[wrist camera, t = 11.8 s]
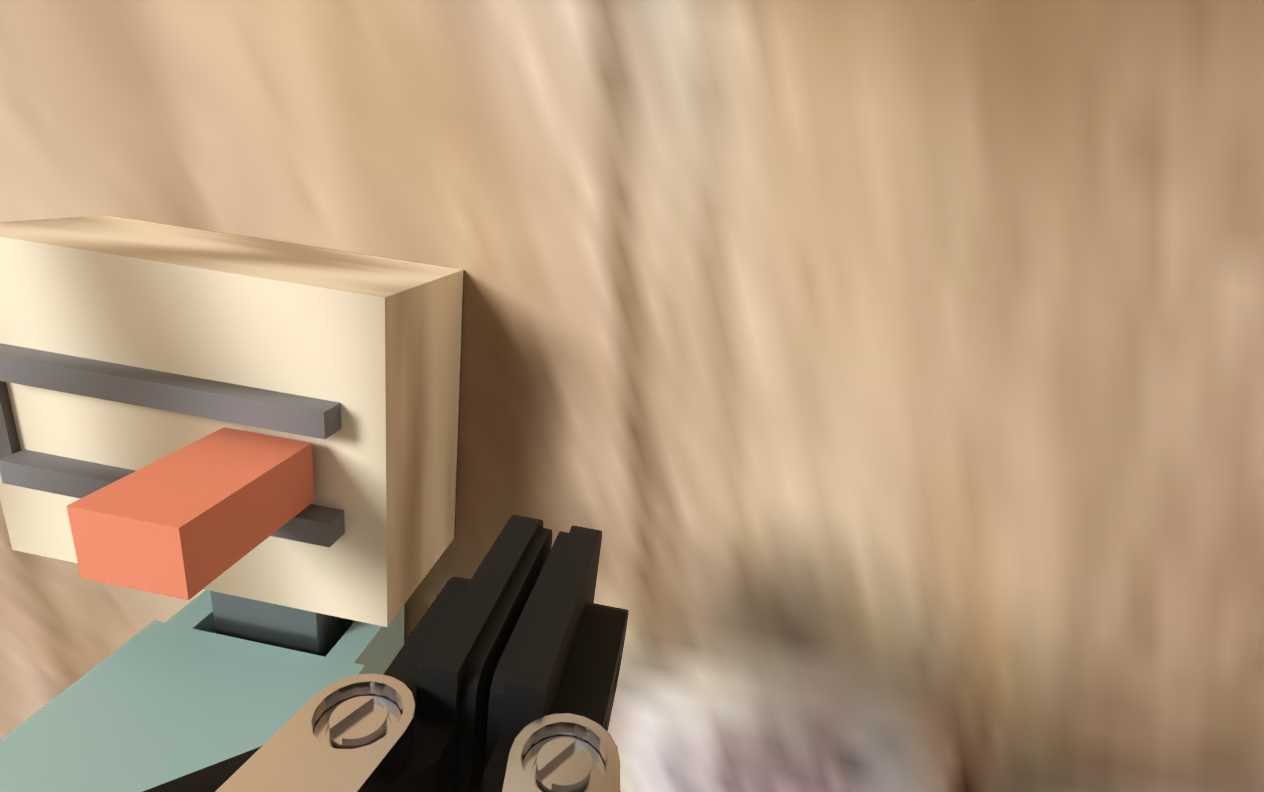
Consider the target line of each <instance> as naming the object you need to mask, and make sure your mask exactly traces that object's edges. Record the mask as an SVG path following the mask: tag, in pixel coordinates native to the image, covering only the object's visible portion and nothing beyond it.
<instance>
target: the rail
mask: <svg viewBox="0 0 1264 792" xmlns="http://www.w3.org/2000/svg"><path fill="white" fill-rule="evenodd" d="M210 592H211V600H212V608H213V617H214V625H215V633H216V634H221V635H225V636H230V637H235V638H239V639H244V640H249V641H253V642H258V643H263V644H267V645H272V646H277V647H282V648H286V649H291V650H296V651H300V652H305V653H310V654H314V655H319V656H324V657H325V656H326V655H327V654H328V653H329V652H330V650H331V649H332V648H333V647H334V646H335V645H336V643H337V642H338V641H339V640H340V639H341V637H342V636H343V635H344V634H345V633H346V631H347V630H348V629H349V628H350V627H351V625H352V624H353V623H354V622H355V620H350V619H345V618H340V617H335V616H330V615H326V614H321V613H316V612H311V611H306V610H301V609H297V608H292V607H287V606H282V605H277V604H272V603H268V602H263V601H258V600H253V599H248V598H243V597H239V596H234V595H229V594H224V593H219V592H214V591H210Z"/></svg>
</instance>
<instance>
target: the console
mask: <svg viewBox="0 0 1264 792" xmlns="http://www.w3.org/2000/svg"><path fill="white" fill-rule="evenodd" d="M462 298H463V269H456V268H449V267H443V266H436V265H430V264H423V263H417V262H410V261H403V260H397V259H390V258H384V257H377V256H370V255H364V254H357V253H351V252H344V251H338V250H331V249H324V248H318V247H311V246H305V245H298V244H291V243H285V242H278V241H272V240H265V239H259V238H252V237H245V236H239V235H232V234H226V233H219V232H212V231H206V230H199V229H193V228H186V227H180V226H173V225H166V224H160V223H153V222H147V221H140V220H134V219H127V218H120V217H114V216H92V217H76V218H60V219H44V220H29V221H13V222H0V500H1V504H2V508H3V512H4V516H5V520H6V525H7V529H8V533H9V537H10V541H11V545H12V550H16V551H21V552H26V553H31V554H36V555H40V556H45V557H50V558H55V559H60V560H65V561H69V562H74V563H78V562H77V557H76V552H75V547H74V542H73V537H72V532H71V527H70V522H69V517H68V512H67V507H66V506H67V505H69V504H71V503H73V502H75V501H77V500H79V499H81V498H83V497H85V496H87V495H89V494H91V493H93V492H95V491H97V490H99V489H101V488H103V487H105V486H107V485H109V484H111V483H113V482H115V481H117V480H119V479H121V478H123V477H125V476H127V475H129V474H131V473H133V472H135V471H137V470H139V469H141V468H143V467H145V466H147V465H149V464H151V463H153V462H155V461H157V460H159V459H161V458H163V457H165V456H167V455H169V454H171V453H173V452H175V451H177V450H179V449H181V448H183V447H185V446H187V445H189V444H191V443H193V442H195V441H197V440H199V439H201V438H203V437H205V436H207V435H209V434H211V433H213V432H215V431H217V430H219V429H221V428H223V427H227V428H232V429H238V430H243V431H249V432H254V433H260V434H265V435H271V436H276V437H282V438H287V439H293V440H298V441H304V442H309V443H312V459H313V479H314V499H315V501H314V502H313V503H311V504H310V505H309V506H307V507H306V508H305V509H304V510H302V511H301V512H300V513H299V514H297V515H296V516H295V517H294V518H292V519H291V520H290V521H288V522H287V523H286V524H285V525H283V526H282V527H281V528H280V529H278V530H277V531H276V532H274V533H273V534H272V535H271V536H269V537H268V538H267V539H266V540H264V541H263V542H262V543H260V544H259V545H258V546H257V547H255V548H254V549H253V550H252V551H250V552H249V553H248V554H247V555H245V556H244V557H243V558H241V559H240V560H239V561H238V562H236V563H235V564H234V565H233V566H231V567H230V568H229V569H227V570H226V571H225V572H224V573H222V574H221V575H220V576H219V577H217V578H216V579H215V580H213V581H212V582H211V583H210V584H208V585H207V586H206V587H205V588H203V589H205V590H210V591H214V592H219V593H224V594H229V595H234V596H239V597H243V598H248V599H253V600H258V601H263V602H268V603H272V604H277V605H282V606H287V607H292V608H297V609H301V610H306V611H311V612H316V613H321V614H326V615H330V616H335V617H340V618H345V619H350V620H355V621H359V622H364V623H369V624H374V625H379V626H384V627H388V625H389V624H390V623H391V622H392V620H393V619H394V618H395V616H396V615H397V614H398V612H399V611H400V610H401V608H402V607H403V606H404V604H405V603H406V602H407V600H408V599H409V598H410V596H411V595H412V594H413V592H414V591H415V590H416V588H417V587H418V586H419V584H420V583H421V582H422V580H423V579H424V578H425V576H426V575H427V574H428V572H429V571H430V570H431V568H432V567H433V566H434V564H435V563H436V562H437V561H438V559H439V558H440V557H441V555H442V554H443V553H444V551H445V550H446V549H447V547H448V546H449V545H450V543H451V542H452V541H453V539H454V529H455V500H456V471H457V442H458V413H459V384H460V356H461V327H462Z"/></svg>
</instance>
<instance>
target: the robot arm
mask: <svg viewBox="0 0 1264 792" xmlns="http://www.w3.org/2000/svg"><path fill="white" fill-rule="evenodd" d="M601 539H602V531H600V530H594V529H589V528H583V527H578V526H572V528H571V530H570V532H569V533H567V532H561V531H560V532H559V534H558V536H557V538H556V540H555V542H554V544H553V547H552V549H551V543H552V530H550V529H545V528H543V521H542V520H539V519H534V518H528V517H523V516H517V515H512V517H511V518H510V519H509V521H508V522H507V524H506V526H505V527H504V529H503V530H502V532H501V533H500V535H499V537H498V538H497V540H496V541H495V543H494V544H493V546H492V548H491V549H490V551H489V552H488V554H487V555H486V557H485V559H484V560H483V562H482V563H481V565H480V567H479V568H478V570H477V571H476V573H475V574H474V576H473V578H472V579H471V580H469V579H464V578H458V577H453V578H451V579H450V580H449V581H448V582H447V583H446V585H445V586H444V588H443V589H442V590H441V592H440V593H439V595H438V596H437V598H436V599H435V601H434V602H433V603H432V605H431V606H430V608H429V609H428V611H427V612H426V614H425V615H424V616H423V618H422V619H421V621H420V622H419V624H418V625H417V627H416V628H415V629H414V631H413V632H412V634H411V635H410V637H409V638H408V640H407V641H406V642H405V644H404V645H403V647H402V648H401V650H400V651H399V653H398V654H397V655H396V657H395V658H394V660H393V661H392V663H391V664H390V665H389V667H388V668H387V670H386V671H385V673H384V674H383V675H381V674H359V675H355V676H351V677H347V678H343V679H341V680H339V681H337V682H335V683H332V684H330V685H328V686H326V687H325V688H324V689H322V690H321V691H320V692H319V693H317V694H316V695H315V696H313V697H312V698H311V699H310V700H309V701H308V702H307V703H306V704H305V705H304V706H303V707H302V708H301V709H300V710H299V711H298V712H297V713H296V714H295V715H294V716H293V717H292V718H291V719H290V720H289V721H288V722H286V723H285V724H284V725H283V726H282V727H281V728H280V729H279V730H278V731H277V732H276V733H275V734H274V735H273V736H272V737H271V738H270V739H269V740H268V741H267V742H266V743H265V744H264V745H263V746H261V747H258V748H255V749H253V750H250V751H247V752H245V753H242V754H240V755H237V756H234V757H232V758H229V759H226V760H224V761H221V762H219V763H216V764H213V765H211V766H208V767H206V768H203V769H200V770H198V771H195V772H192V773H190V774H187V775H185V776H182V777H179V778H177V779H174V780H172V781H169V782H166V783H164V784H161V785H158V786H156V787H153V788H151V789H148V790H145V791H143V792H621V791H620V760H619V755H618V749H617V746H616V744H615V742H614V741H613V739H612V737H611V735H610V734H609V733H608V732H607V731H608V726H609V721H610V716H611V711H612V706H613V702H614V697H615V692H616V687H617V681H618V676H619V670H620V664H621V658H622V652H623V646H624V640H625V633H626V626H627V619H628V610H625V609H620V608H615V607H610V606H604V605H599V604H594V603H593V602H594V594H595V586H596V578H597V571H598V563H599V555H600V547H601Z"/></svg>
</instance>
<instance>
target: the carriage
mask: <svg viewBox="0 0 1264 792" xmlns="http://www.w3.org/2000/svg"><path fill="white" fill-rule="evenodd" d="M403 645H404V606H403V607H402V608H401V610H400V611H399V612H398V614H397V615H396V616H395V618H394V619H393V620H392V622H391V623H390V624H389V625H388V627H384V626H379V625H374V624H369V623H364V622H359V621H355V622H354V623H353V624H352V625H351V627H350V628H349V629H348V630H347V631H346V633H345V634H344V635H343V636H342V637H341V639H340V640H339V641H338V642H337V643H336V645H335V646H334V647H333V648H332V649H331V650H330V652H329V653H328V654H327V655H326V656H325V657H324V656H319V655H314V654H310V653H305V652H300V651H296V650H291V649H286V648H282V647H277V646H272V645H267V644H263V643H258V642H253V641H249V640H244V639H239V638H235V637H230V636H225V635H221V634H216V633H215V625H214V617H213V608H212V600H211V592H210V590H205V591H204V592H203V593H202V594H200V595H199V596H198V597H197V598H195V599H194V600H193V601H191V602H190V603H189V604H188V605H186V606H185V607H184V608H183V609H181V610H180V611H179V612H178V613H176V614H175V615H174V616H173V617H171V618H170V619H169V620H168V621H166V622H165V623H164V622H160V621H153V622H152V623H151V624H149V625H148V626H147V627H146V628H144V629H143V630H142V631H140V632H139V633H138V634H137V635H135V636H134V637H133V638H131V639H130V640H129V641H128V642H126V643H125V644H124V645H122V646H121V647H120V648H119V649H117V650H116V651H115V652H113V653H112V654H111V655H110V656H108V657H107V658H106V659H104V660H103V661H102V662H101V663H99V664H98V665H97V666H95V667H94V668H93V669H91V670H90V671H89V672H88V673H86V674H85V675H84V676H82V677H81V678H80V679H79V680H77V681H76V682H75V683H73V684H72V685H71V686H70V687H68V688H67V689H66V690H64V691H63V692H62V693H61V694H59V695H58V696H57V697H55V698H54V699H53V700H52V701H50V702H49V703H48V704H46V705H45V706H44V707H43V708H41V709H40V710H39V711H37V712H36V713H35V714H33V715H32V716H31V717H30V718H28V719H27V720H26V721H24V722H23V723H22V724H21V725H19V726H18V727H17V728H15V729H14V730H13V731H12V732H10V733H9V734H8V735H6V736H5V737H4V738H3V739H1V740H0V792H143V791H145V790H148V789H151V788H153V787H156V786H158V785H161V784H164V783H166V782H169V781H172V780H174V779H177V778H179V777H182V776H185V775H187V774H190V773H192V772H195V771H198V770H200V769H203V768H206V767H208V766H211V765H213V764H216V763H219V762H221V761H224V760H226V759H229V758H232V757H234V756H237V755H240V754H242V753H245V752H247V751H250V750H253V749H255V748H258V747H261V746H263V745H264V744H265V743H266V742H267V741H268V740H269V739H270V738H271V737H272V736H273V735H274V734H275V733H276V732H277V731H278V730H279V729H280V728H281V727H282V726H283V725H284V724H285V723H286V722H288V721H289V720H290V719H291V718H292V717H293V716H294V715H295V714H296V713H297V712H298V711H299V710H300V709H301V708H302V707H303V706H304V705H305V704H306V703H307V702H308V701H309V700H310V699H311V698H312V697H313V696H315V695H316V694H317V693H319V692H320V691H321V690H322V689H324V688H325V687H326V686H328V685H330V684H332V683H335V682H337V681H339V680H341V679H343V678H347V677H351V676H355V675H359V674H381V675H383V674H384V673H385V671H386V670H387V668H388V667H389V665H390V664H391V663H392V661H393V660H394V658H395V657H396V655H397V654H398V653H399V651H400V650H401V648H402V647H403Z"/></svg>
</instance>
